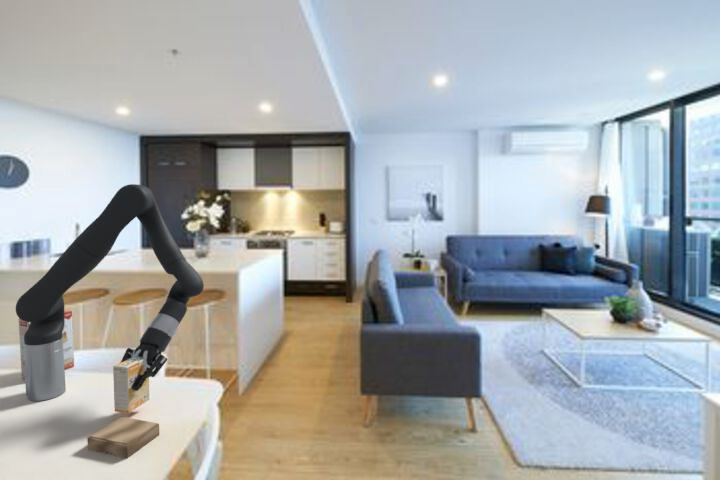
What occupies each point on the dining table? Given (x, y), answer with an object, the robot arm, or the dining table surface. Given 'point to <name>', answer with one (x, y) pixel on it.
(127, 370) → the supplement box
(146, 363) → the robot arm
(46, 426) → the dining table surface
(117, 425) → the brown square board
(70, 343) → the cracker box
